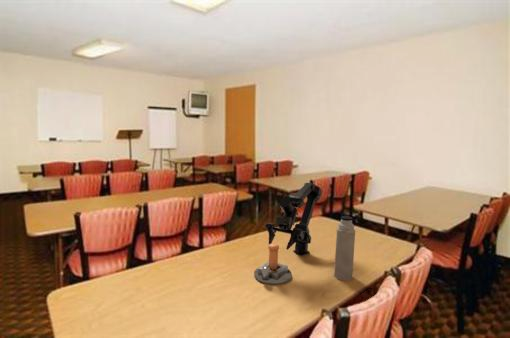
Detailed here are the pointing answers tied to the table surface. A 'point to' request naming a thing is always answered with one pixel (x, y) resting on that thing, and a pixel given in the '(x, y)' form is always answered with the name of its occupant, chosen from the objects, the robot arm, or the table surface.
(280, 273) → the grey peg hole base
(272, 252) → the wooden peg
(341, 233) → the thermos bottle
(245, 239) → the table surface
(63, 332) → the table surface
